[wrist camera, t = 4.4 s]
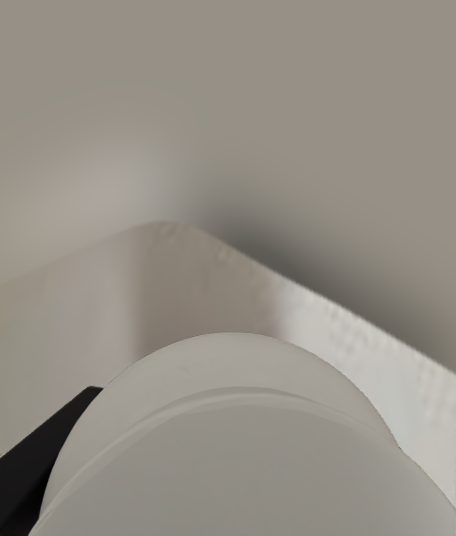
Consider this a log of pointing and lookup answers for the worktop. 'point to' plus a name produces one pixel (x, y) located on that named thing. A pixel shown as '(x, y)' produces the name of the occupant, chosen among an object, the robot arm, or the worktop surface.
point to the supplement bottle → (237, 452)
